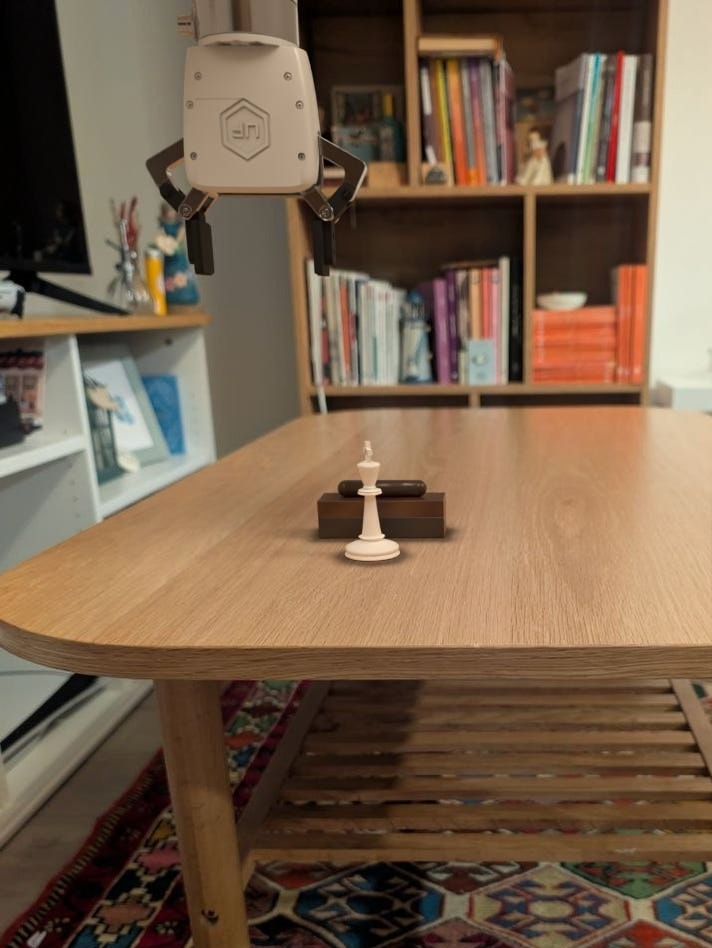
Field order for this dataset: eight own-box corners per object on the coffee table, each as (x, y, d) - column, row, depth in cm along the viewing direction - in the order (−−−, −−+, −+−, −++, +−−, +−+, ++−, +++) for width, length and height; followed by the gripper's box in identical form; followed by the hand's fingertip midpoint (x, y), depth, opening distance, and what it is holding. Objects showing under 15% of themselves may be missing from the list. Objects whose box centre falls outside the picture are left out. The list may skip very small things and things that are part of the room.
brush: (319, 538, 91) (315, 484, 89) (326, 528, 94) (322, 476, 93) (444, 537, 90) (443, 483, 89) (446, 528, 94) (445, 476, 92)
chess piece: (392, 545, 88) (387, 436, 84) (406, 558, 83) (402, 443, 80) (339, 550, 86) (333, 439, 83) (351, 563, 82) (345, 446, 78)
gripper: (115, 18, 68) (141, 273, 74) (354, 18, 68) (362, 275, 73) (152, 45, 75) (174, 276, 81) (369, 46, 75) (375, 277, 80)
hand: (263, 275), depth 77 cm, fingers open, 9 cm apart
